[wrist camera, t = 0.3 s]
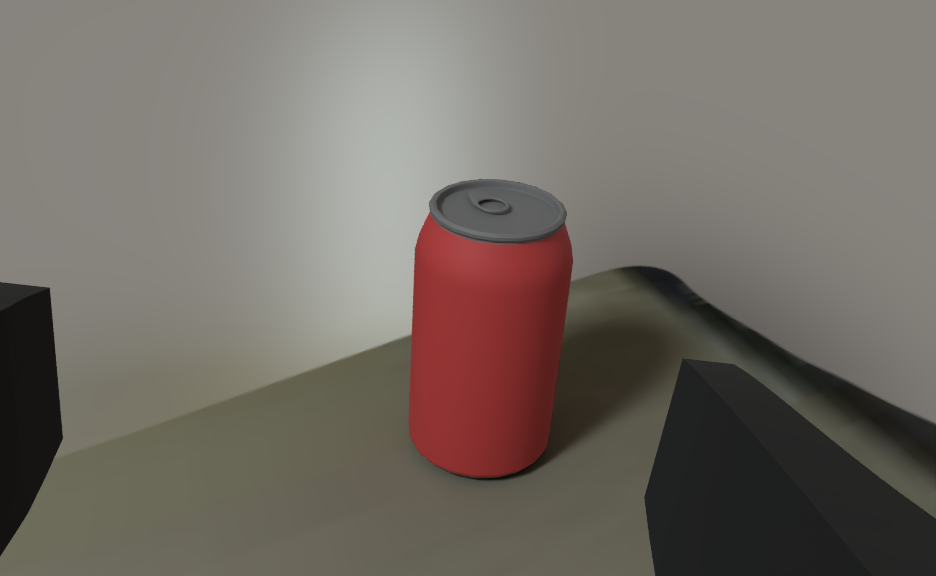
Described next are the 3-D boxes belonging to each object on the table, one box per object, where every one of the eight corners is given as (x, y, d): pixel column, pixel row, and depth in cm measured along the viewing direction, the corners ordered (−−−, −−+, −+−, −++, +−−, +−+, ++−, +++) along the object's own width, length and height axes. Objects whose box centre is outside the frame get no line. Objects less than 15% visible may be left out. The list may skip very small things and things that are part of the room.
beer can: (496, 382, 46) (517, 164, 40) (576, 457, 41) (614, 221, 35) (382, 420, 43) (387, 188, 37) (455, 506, 38) (474, 255, 32)
